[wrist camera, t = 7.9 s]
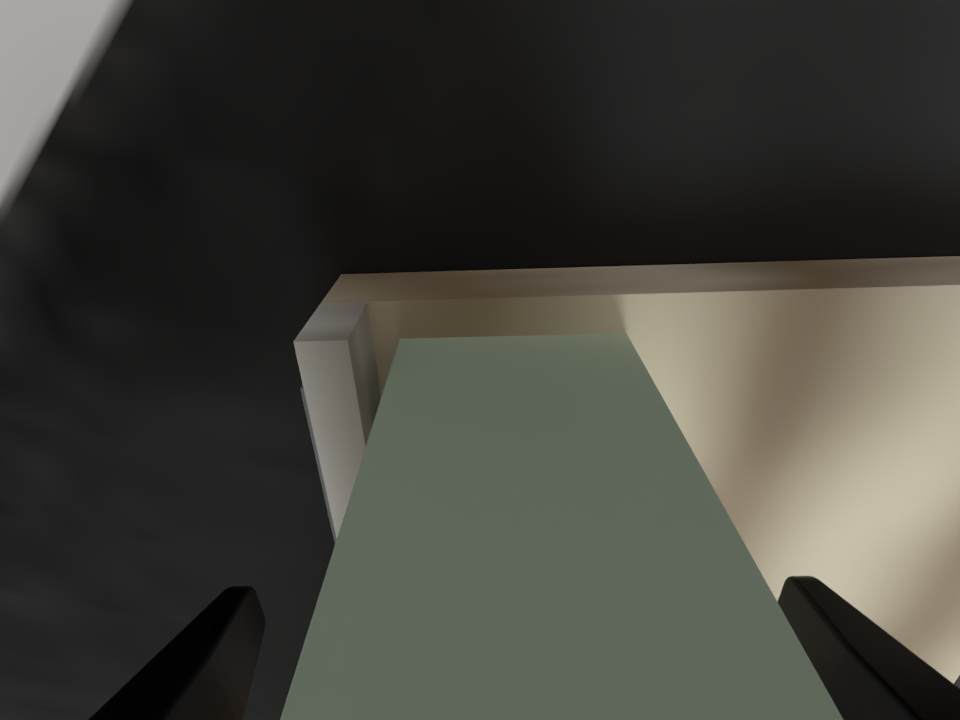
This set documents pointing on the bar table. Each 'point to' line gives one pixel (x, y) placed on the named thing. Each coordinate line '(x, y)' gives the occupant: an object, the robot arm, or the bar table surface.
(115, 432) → the bar table surface
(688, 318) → the shelf board
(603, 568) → the sage carton
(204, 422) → the bar table surface
